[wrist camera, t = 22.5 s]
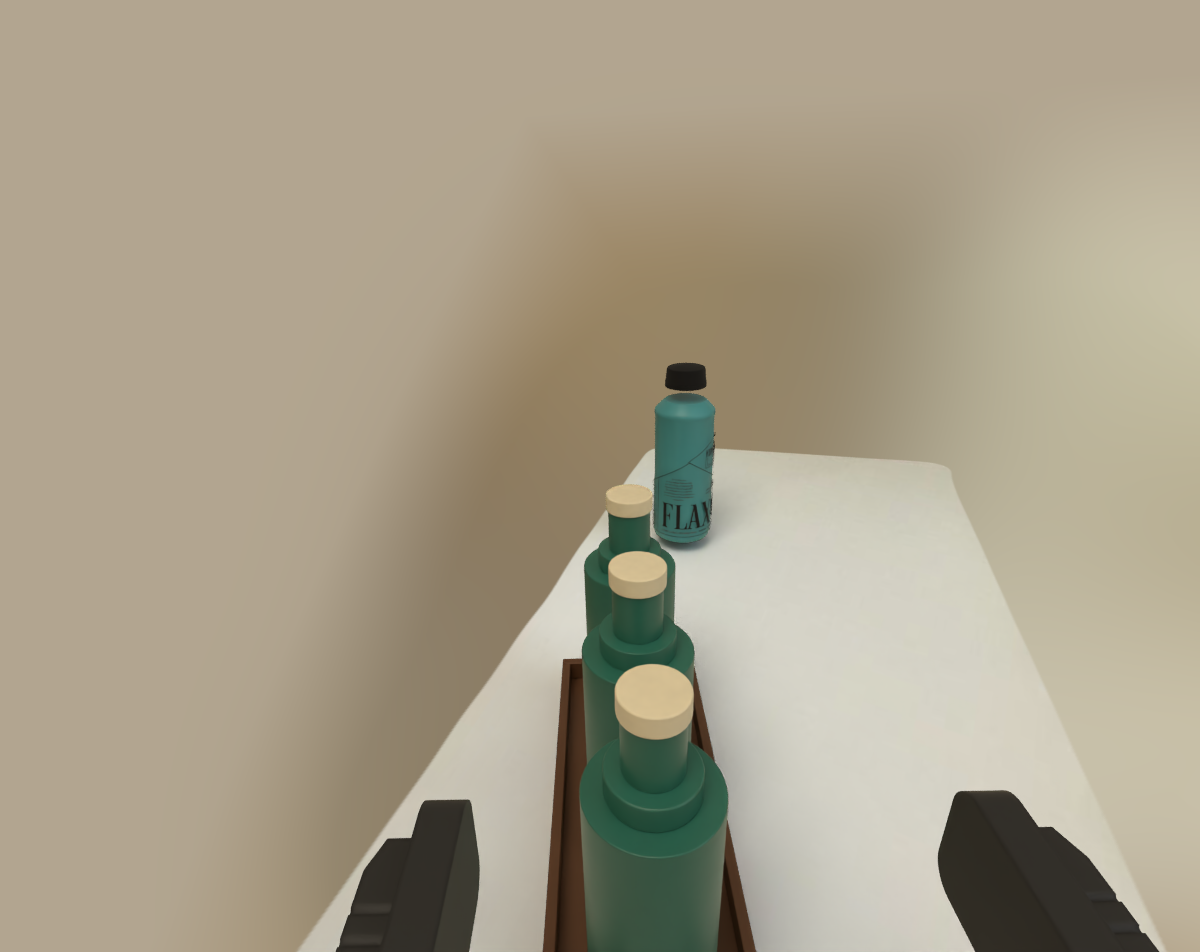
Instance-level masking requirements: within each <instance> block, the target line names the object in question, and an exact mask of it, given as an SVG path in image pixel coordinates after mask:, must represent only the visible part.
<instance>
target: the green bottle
mask: <svg viewBox="0 0 1200 952" xmlns="http://www.w3.org/2000/svg"><path fill="white" fill-rule="evenodd" d="M693 702H694V691H693V687H692V685H691V683H690V681H689V680H688V678H687V677H686V676H685V675H683V674H682V673H681V672H679V671H678V670H676V669H674V668H671V667H668V666H665V665H659V664H646V665H640V666H636V667H634V668H631V669H629V670H628V671H626V672H625V673H624V674H622V676H621V677H620V678H619V679H618V681H617V683H616V686H615V714H616V717H617V719H618V721H619V738H618V739H615V740H613V741H611V742H610V743H608V744H606V745H605V746H604V747H602V748H601V749H600V750H599V751H598V752H596V753H595V754H594V756H593V757H592V758H591V759H590V761H589V762H588V764H587V765H586V767H585V769H584V772H583V774H582V777H581V781H580V787H579V799H580V817H581V836H582V855H583V873H584V892H585V910H586V929H587V948H588V952H717V945H718V931H719V918H720V905H721V892H722V879H723V866H724V852H725V839H726V826H727V813H728V791H727V786H726V783H725V779H724V777H723V775H722V773H721V771H720V769H719V768H718V766H717V765H716V763H715V762H714V761H713V760H712V758H711V757H710V756H709V755H708V754H707V753H705V752H704V751H703V750H702V749H700V748H699V747H698V746H696V745H694V744H693V743H691V742H689V741H688V725H689V724H690V722H691V720H692V716H693Z"/></svg>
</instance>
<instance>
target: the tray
mask: <svg viewBox="0 0 1200 952" xmlns="http://www.w3.org/2000/svg"><path fill="white" fill-rule="evenodd" d="M693 691H694V702H693V716H692V727H691V743H693V744H694V745H696V746H698V747H699V748H700V749H702V750H703V751H704V752H705V753H707V754H708V755H709V756H710V757H711V758H712V760H713V761H714V762H715V760H714V756H713V751H712V747H711V742H710V737H709V733H708V728H707V723H706V719H705V714H704V710H703V705H702V700H701V696H700V691H699V686H698V682H697V677H696V673H695V668H694V678H693ZM586 765H587V754H586V732H585V710H584V688H583V667H582V659H563V669H562V684H561V698H560V713H559V727H558V742H557V756H556V770H555V785H554V799H553V814H552V828H551V843H550V857H549V872H548V886H547V900H546V915H545V929H544V944H543V952H588V948H587V929H586V910H585V892H584V873H583V855H582V836H581V817H580V799H579V787H580V781H581V777H582V774H583V772H584V769H585V767H586ZM717 952H756V950H755V946H754V941H753V936H752V932H751V927H750V922H749V918H748V913H747V909H746V904H745V899H744V895H743V890H742V885H741V881H740V876H739V871H738V867H737V862H736V858H735V853H734V848H733V844H732V839H731V834H730V830H729V825H728V821H727V826H726V839H725V852H724V866H723V879H722V892H721V905H720V918H719V931H718V945H717Z"/></svg>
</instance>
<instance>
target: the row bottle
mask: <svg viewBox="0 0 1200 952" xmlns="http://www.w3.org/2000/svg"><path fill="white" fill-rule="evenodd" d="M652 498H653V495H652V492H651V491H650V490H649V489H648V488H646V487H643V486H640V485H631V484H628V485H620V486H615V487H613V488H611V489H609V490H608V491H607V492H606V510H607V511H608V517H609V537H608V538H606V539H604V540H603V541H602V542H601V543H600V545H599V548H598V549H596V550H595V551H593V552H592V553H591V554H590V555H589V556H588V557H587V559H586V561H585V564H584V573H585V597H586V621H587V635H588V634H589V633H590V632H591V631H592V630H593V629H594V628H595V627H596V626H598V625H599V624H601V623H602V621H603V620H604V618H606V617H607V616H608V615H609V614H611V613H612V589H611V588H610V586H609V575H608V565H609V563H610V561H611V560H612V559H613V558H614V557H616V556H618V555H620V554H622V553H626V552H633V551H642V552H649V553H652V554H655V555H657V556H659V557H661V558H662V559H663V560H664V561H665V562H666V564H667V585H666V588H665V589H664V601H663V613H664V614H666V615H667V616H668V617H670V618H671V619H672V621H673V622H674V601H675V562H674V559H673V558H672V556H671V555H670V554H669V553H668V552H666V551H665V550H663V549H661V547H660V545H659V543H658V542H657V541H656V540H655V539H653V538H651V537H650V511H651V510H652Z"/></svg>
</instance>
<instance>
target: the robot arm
mask: <svg viewBox="0 0 1200 952" xmlns="http://www.w3.org/2000/svg"><path fill="white" fill-rule="evenodd" d="M938 867H939V873H940V877H941V881H942V884H943V887H944V890H945V893H946V895H947V897H948V899H949V901H950V903H951V905H952V907H953V909H954V911H955V913H956V915H957V917H958V919H959V921H960V923H961V925H962V926H963V928H964V930H965V932H966V934H967V936H968V938H969V940H970V942H971V944H972V946H973V948H974V950H975V952H1159V951H1158V950H1157V948H1156V947H1155V946H1154V944H1153V943H1152V942H1151V940H1150V939H1149V938H1148V936H1147V935H1146V934H1145V933H1142V932H1141V931H1140V929H1139V924H1138V923H1137V922H1136V920H1135V919H1134V918H1133V916H1132V915H1131V914H1130V912H1129V911H1128V910H1127V908H1126V907H1125V906H1124V904H1123V903H1122V902H1119V901H1118V900H1117V899H1116V894H1115V892H1114V891H1113V890H1112V888H1111V887H1110V886H1109V884H1108V883H1107V882H1106V881H1105V879H1104V878H1103V877H1102V875H1101V874H1100V873H1099V871H1098V870H1097V869H1096V867H1095V866H1094V865H1093V863H1092V862H1091V861H1090V859H1089V858H1088V857H1087V856H1086V855H1084V854H1083V853H1082V852H1081V851H1080V850H1079V849H1077V848H1076V847H1075V846H1074V845H1073V844H1071V843H1070V842H1069V841H1068V840H1067V839H1066V838H1064V837H1063V836H1062V835H1061V834H1060V833H1058V832H1057V831H1056V830H1055V829H1054V828H1053V827H1038V826H1037V824H1036V823H1035V821H1034V820H1033V819H1032V817H1031V816H1030V814H1029V813H1028V812H1027V810H1026V809H1025V807H1024V806H1023V804H1022V803H1021V802H1020V801H1019V799H1018V798H1017V797H1016V796H1015V795H1013V794H1012V793H1011V792H1009V791H1005V790H999V791H960V792H958V793H956V795H955V796H954V799H953V802H952V806H951V809H950V813H949V816H948V820H947V823H946V827H945V830H944V834H943V837H942V841H941V844H940V848H939V852H938ZM479 872H480V869H479V855H478V848H477V841H476V834H475V827H474V819H473V812H472V806H471V802H470V800H426V801H424V802H423V803H422V805H421V807H420V810H419V813H418V817H417V820H416V824H415V827H414V830H413V834H412V837H411V838H396V839H387V840H386V841H385V843H384V844H383V845H382V847H381V848H380V849H379V851H378V852H377V853H376V855H375V856H374V857H373V859H372V860H371V861H370V863H369V864H368V865H367V867H366V868H365V869H364V871H363V874H362V877H361V880H360V883H359V886H358V889H357V891H356V894H355V897H354V900H353V903H352V906H351V913H350V915H348V918H347V920H346V923H345V926H344V929H343V932H342V935H341V938H340V945H339V947H337V949H336V952H469V949H470V943H471V937H472V931H473V925H474V919H475V913H476V907H477V900H478V891H479Z"/></svg>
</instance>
